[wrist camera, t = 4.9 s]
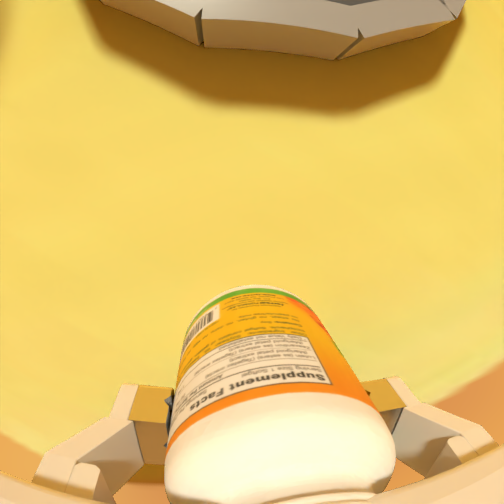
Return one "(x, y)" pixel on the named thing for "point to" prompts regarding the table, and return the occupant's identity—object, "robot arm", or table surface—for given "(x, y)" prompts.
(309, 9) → the round tray
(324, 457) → the supplement bottle
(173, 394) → the robot arm
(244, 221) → the table surface
